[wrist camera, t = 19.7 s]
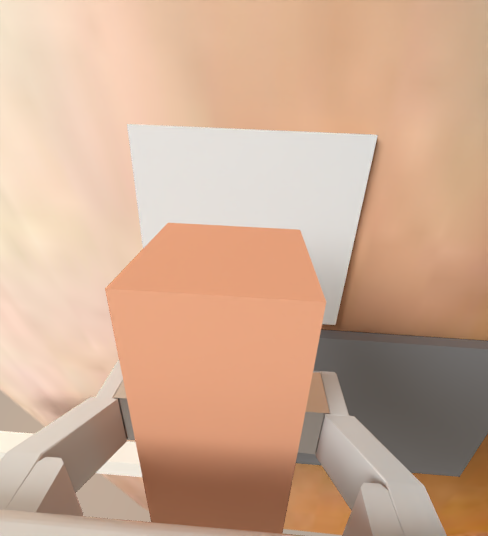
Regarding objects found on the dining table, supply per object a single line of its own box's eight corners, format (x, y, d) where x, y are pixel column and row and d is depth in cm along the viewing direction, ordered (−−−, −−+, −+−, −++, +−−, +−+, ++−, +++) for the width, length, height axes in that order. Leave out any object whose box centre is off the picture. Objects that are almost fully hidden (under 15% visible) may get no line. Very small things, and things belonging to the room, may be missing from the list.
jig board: (180, 320, 23) (138, 421, 16) (529, 343, 22) (671, 463, 15) (189, 444, 31) (164, 555, 23) (453, 466, 30) (521, 590, 22)
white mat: (131, 124, 17) (127, 124, 17) (373, 134, 17) (377, 135, 16) (153, 308, 23) (151, 312, 23) (333, 320, 23) (335, 325, 22)
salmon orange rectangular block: (168, 222, 9) (105, 288, 5) (300, 229, 9) (326, 302, 5) (184, 434, 13) (156, 549, 10) (273, 441, 13) (277, 559, 10)
